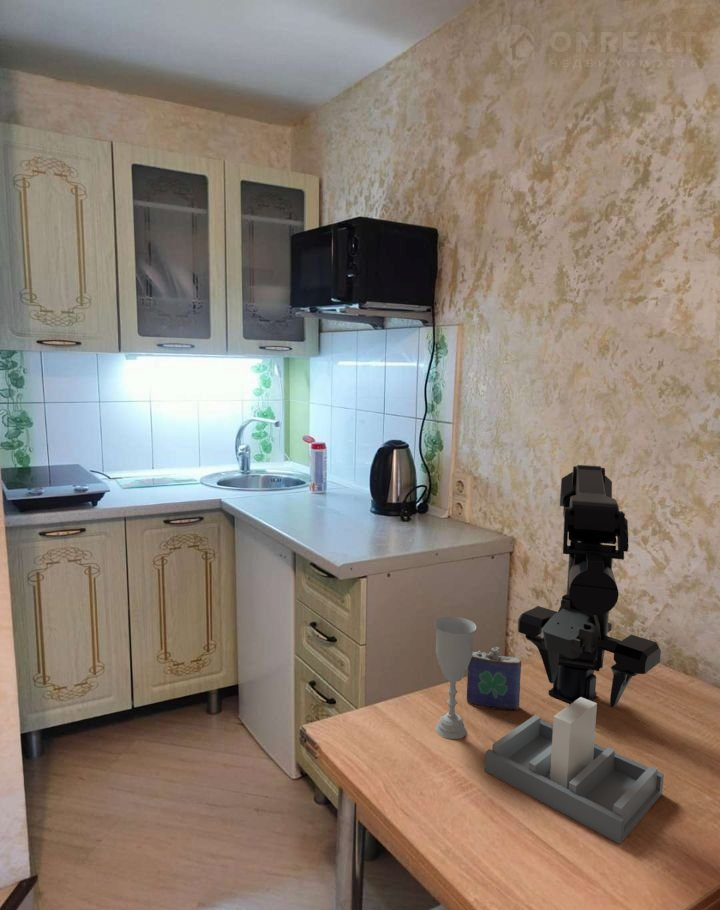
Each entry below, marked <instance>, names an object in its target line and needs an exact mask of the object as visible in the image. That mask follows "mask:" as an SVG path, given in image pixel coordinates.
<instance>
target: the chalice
mask: <svg viewBox="0 0 720 910" xmlns="http://www.w3.org/2000/svg"><path fill="white" fill-rule="evenodd" d="M433 625H434V629H435V630H436V637H435V638H436V639H435V640H436V641H435V655H436V657H437V662H438V665H439V667H440V670H441V672H442V674H443V677H444V678H445V680H447V681H449V686H448V687H449V688H448V689H447V693H448V694H449V698H448V699H447V701H446V703H447V705H448V711H447V712H445V713H443V714H442V715H441V716H440V718H439V720H438V722H437V725H436V726H435V732H436V733H437V734H438V735H439V736H441V737H442V738H445V739H450V740H459V739H462V738H464V737H465V736H466V734H467V729H466V727H465V724H464V721H463V718H462V717H461V716H460V715H459V714H457V713H456V712H455V708H456V705H457V704H458V701H457V699H456V696H457V693H458V690H457V687H456V683H457V682H460V681H461V680H462V678H463V677H464V675H465V674H466V672H467V671H468V666H469V663H470V661H471V658H472V652H474V651H473V646H474V634H475V631H476V630H477V625H476V623H475V622H474V621H472V620H470V619H467V618H464V617H460V616H442V617H438V618H436V619H435V620H434V622H433Z"/></svg>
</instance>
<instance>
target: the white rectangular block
mask: <svg viewBox="0 0 720 910" xmlns="http://www.w3.org/2000/svg"><path fill="white" fill-rule="evenodd" d="M597 709H598V702H595V701H592V700H587V699H585V698H582V697H580V698H578V699H577V700H576V701H574V702H573V703H570V704H569V705H567V706H566V707H565V708H563V709H562V710H560V711H559V712H558V713H556V714H554V716H553V720H552V725H553V735H552V752H551V769H550V780H551V781H553V782H555V783H557V784H559V785H561V786H563V787H565V788H567V789H569V782H570V781H571V780H572V779H573V778H575V777H576V776H577V775H578V774H579V773H580V772H581V771H582V770H583V769H585V768H586V767H587V766H588V765H589V764H590V763H591V762H592V761H593V755H594V744H595V742H596V741H595V739H596V727H597V726H596V725H597Z"/></svg>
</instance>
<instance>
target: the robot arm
mask: <svg viewBox="0 0 720 910" xmlns="http://www.w3.org/2000/svg"><path fill="white" fill-rule="evenodd" d="M559 507H563V509H562V511H563V512H562V513H563V533H562V534H563V537H562V554H563V555H568V564H567V565H568V567H567V582H566V594H564V595H562V596H561V600H560V605H559V609H558V611H556V610H553V609H551V608H547V607H543V606H540V605H537V606H536V607H533V608H531V609H528V610H527V611H524V612H523V613H521V614H520V615H519V618H518V620H517V631H518V633H520V634H523V635H525V639H526V640H527V641H530V642H531V643H532V644H533V645H534V646H535V647H536V648H537V650H538V653H539V654H540V657H541V660H542V663H543V666H544V669H545V670H544V671H545V673H546V677H547V679H548V682H549V683H550V684H552V688H551V689H549V690H548V694H549V695H550V696H553V697H555V698H557V699H560V700H562V701H565V702H567V703H570V704H571V703H573V702H574V701H576V700H577V699H578V698H580V697H582V698H585V699H587V700H590V701H592V699H594V698H595V697H596V696H597V691H596V688H597V687H596V686H597V676H596V674H595V671H596V672H600V669H603V667H604V656H605V651H606V652H609V653H612V654H613V661H614V662H615V664H613V665H612V666H611V667H610V669H611V672H612V674H613V675H612V684H611V689H610V696H609V700H610V701H609V704H610V705H609V706H610V708H615V707H616V706H617V705H618V703H619V701H620V699H621V697H622V696H623V694H624V691H626V688H627V687H628V684H629V683H630V681H631V679H632V678H633V677H635V676H637V675H645V674H647V673H648V672H649V671H651V670H652V669H654V667H656V666H657V665H658V664H660V663H661V653H662V652H661V650H662V649H661V648H660V646H659V644H658V642H657V641H654V640H651V639H647V638H645V637H644V638H643V637H641V636H639V635H635V634H630V635H628V636H627V637H624V639H622V640H621V639H617V638H615V637H610V636H608V633H610V632H611V631H612V624H613V623H611V622H609V615H610V611H611V610H612V609H614V607H615V606H616V604H617V602H618V601H619V589H618V586H617V581H616V578H615V574H614V571H613V561H614V560H623V561H624V559H625V553H627V552H628V550H629V527H628V524H629V522H628V519H627V518H626V514H625V513H624V511H622V510H620V508H619V503H618V501H617V500H616V499H615V498H613V481H612V480H611V479H610V478H609V477H607V475H606V469H605V467H602V466H601V465H589V464H588V465H586V464H577V465H574V466H573V467H572V472H570V473H568V474H566V475H564V476H563V477H562V478H561V481H560V493H559ZM568 541H570V542H569V545H568ZM615 544H617V545H615Z"/></svg>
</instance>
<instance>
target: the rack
mask: <svg viewBox="0 0 720 910" xmlns="http://www.w3.org/2000/svg"><path fill="white" fill-rule="evenodd" d="M552 735H553V724H551V723H549V722H547V721H545V720H543V719H541V716H538V715H536V714H535V715H532V716H531V717H530V718H529V719H527V720H526V721H524V722H523V723H521V724H519V725H518V726H517V727H515V728H514V729H512V730H511V731H510V732H508V733H507V734H505V735H504V736H502V737H501V738H499V739H498V740H496V741H495V742H493V743H492V748H491V749H490V748H488V749H487V750H486V751H485V753H484V754H485V756H484V772H486V773H488V774H489V775H492V776H493V777H495V778H497V779H499V780H500V781H503V782H504V783H506V784H508V785H510V786H512V787H514V788H516V789H517V790H519V791H521V792H523V793H525V794H526V795H528V796H530V797H532V798H533V799H535V800H538V801H540V802H541V803H543V804H545V805H547V806H548V807H550V808H552V809H554V810H556V811H558V812H560V813H562V814H563V815H565V816H567V817H568V818H571V819H572V820H574V821H576V822H578V823H580V824H582V825H583V826H585V827H587V828H589V829H590V830H592V831H595V832H596V833H598V834H599V835H602V836H603V837H606V838H607V839H609V840H611V841H612V842H615V843H616V844H618V845H621V843H622V842H623V841H624V840H625V839H626V838H627V837H628V835H629V834H630V833H631V831H632V830H633V829H634V828H635V827H636V826H637V824H638V823H639V822H640V821H641V820H642V819H643V817H644V816H646V814H647V813H648V811H649V810H650V809H651V808H652V806H654V804H655V803H656V802H657V801H658V800H659V798H661V796H662V795H663V787H664V775H665V774H664V773H662V772H661V771H658V770H659V769H658V768H657V767H654V766H653V765H649V766H646V765H644V764H642V763H639V762H637V761H635V760H632V759H630V758H628V757H626V756H625V755H621V754H619V753H617V752H616V750H615V749H614V748H612V747H609V746H607V747H606V748H605V747H603V746H601V745H599V744H596V743H594V755H593V761H592V762H591V763H590V764H589V765H588V766H587V767H586V768H585V769H583V770H582V771H581V772H580V773H579V774H578V775H577V776H576V777H575V778H573V779H572V780H571V781H570V782H569V789H567V788H565V787H563V786H561V785H559V784H557V783H555V782H553V781H551V780H550V769H551V752H552Z"/></svg>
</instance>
